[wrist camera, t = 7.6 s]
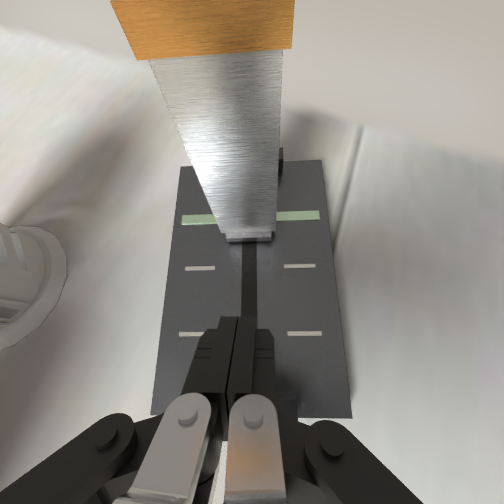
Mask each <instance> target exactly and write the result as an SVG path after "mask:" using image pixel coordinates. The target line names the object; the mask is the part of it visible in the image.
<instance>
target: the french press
mask: <svg viewBox="0 0 504 504" xmlns="http://www.w3.org/2000/svg"><path fill="white" fill-rule="evenodd" d="M66 278H67V264H66V252H65V251H64V249H63V247H62V245H61V244H60V242H59V240H58V239H57V237H56V236H55V235H53V234H51V233H49V232H47V231H46V230H44V229H42V228H40V227H31V226H15V227H12V228H8V227H7V226H6V225H4V224H1V223H0V350H1V349H5V348H8V347H11V346H14V345H15V344H16V343H18V342H19V341H20V340H22V339H23V338H24V337H26V336H27V335H29V334H30V333H31V332H33V331H34V330H35V329H37V328H38V327H39V326H40V325H41V324H42V322H43V321H44V320H45V318H46V317H47V316H48V314H49V313H50V312H51V310H52V309H53V308H54V306H55V305H56V304H57V302H58V300H59V297H60V295H61V292H62V289H63V286H64V283H65V280H66Z"/></svg>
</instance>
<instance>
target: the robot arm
mask: <svg viewBox="0 0 504 504" xmlns="http://www.w3.org/2000/svg"><path fill="white" fill-rule="evenodd" d="M222 441H228V447H227V463H226V479H225V495H224V503H223V504H423V503H422V502H421V501H420V500H419V499H418V498H417V497H416V496H415V495H414V494H413V493H412V492H411V491H410V490H409V489H408V488H407V487H406V486H405V485H404V484H403V483H402V482H401V481H400V480H399V479H398V478H397V477H396V476H395V475H394V474H393V473H392V472H391V471H390V470H389V469H387V468H386V467H385V466H384V465H383V464H382V463H381V462H380V461H379V460H378V459H377V458H376V457H375V456H374V455H373V454H372V453H371V452H370V451H369V450H368V449H367V448H366V447H365V446H364V445H363V444H362V443H361V442H360V441H359V440H358V439H357V438H356V437H355V436H354V435H353V434H352V433H351V432H350V431H349V430H347V429H346V428H345V427H344V426H342V425H341V424H339V423H337V422H334V421H329V420H322V421H318V422H315V423H314V424H312V425H311V426H309V425H306V424H304V423H301V422H298V421H296V420H294V419H292V418H290V417H289V416H287V415H286V414H285V413H284V412H283V411H282V409H281V408H280V406H279V404H278V402H277V398H276V379H275V351H274V337H273V335H272V334H271V332H270V330H269V329H257V318H256V316H239V318H238V316H221V317H220V320H219V324H218V328H217V329H207V330H206V331H205V332H204V333H203V335H202V336H201V337H200V339H199V342H198V345H197V348H196V351H195V354H194V358H193V359H192V362H191V365H190V368H189V371H188V374H187V377H186V380H185V383H184V386H183V389H182V392H181V394H180V396H179V397H178V398H176V399H175V400H174V401H173V402H172V403H171V404H170V405H169V406H168V408H167V409H166V411H165V412H164V413H162V414H160V415H158V416H155V417H152V418H149V419H146V420H142V421H139V422H136V423H133V420H132V419H131V417H130V416H128V415H126V414H123V413H115V414H111V415H108V416H106V417H104V418H102V419H100V420H99V421H97V422H96V423H95V424H93V425H92V426H90V427H89V428H88V429H86V430H85V431H84V432H82V433H81V434H79V435H78V436H77V437H75V438H74V439H73V440H71V441H70V442H68V443H67V444H66V445H64V446H63V447H62V448H60V449H59V450H57V451H56V452H55V453H53V454H52V455H51V456H49V457H48V458H46V459H45V460H44V461H42V462H41V463H40V464H38V465H37V466H35V467H34V468H33V469H31V470H30V471H29V472H27V473H26V474H24V475H23V476H22V477H20V478H19V479H18V480H16V481H15V482H13V483H12V484H11V485H9V486H8V487H7V488H5V489H4V490H2V491H1V492H0V504H212V501H213V496H214V492H215V487H216V482H217V477H218V472H219V460H220V453H221V447H222Z"/></svg>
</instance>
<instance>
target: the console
mask: <svg viewBox="0 0 504 504" xmlns="http://www.w3.org/2000/svg"><path fill="white" fill-rule="evenodd" d="M221 316H238V318H239V316H256V318H257V329H269V330H270V332H271V334H272V335H273V337H274V351H275V379H276V398H277V402H278V404H279V406H280V408H281V409H282V411H283V412H284V413H285V414H286V415H287V416H289V417H290V418H292V419H294V420H296V421H298V418H349V419H352V411H351V402H350V394H349V386H348V377H347V369H346V361H345V353H344V344H343V336H342V328H341V320H340V311H339V303H338V295H337V287H336V278H335V270H334V262H333V254H332V245H331V237H330V229H329V221H328V212H327V204H326V196H325V188H324V179H323V171H322V163H321V160H311V161H290V162H283V148H279V161H278V187H277V213H276V231H271V241H244V242H227V241H226V233H221V231H220V229H219V226H218V224H217V222H216V219H215V217H214V214H213V212H212V210H211V207H210V205H209V203H208V200H207V198H206V196H205V193H204V191H203V189H202V186H201V184H200V182H199V179H198V177H197V174H196V172H195V170H194V167H193V166H186V167H181V169H180V177H179V185H178V193H177V201H176V210H175V218H174V226H173V234H172V242H171V251H170V259H169V267H168V275H167V283H166V291H165V300H164V308H163V316H162V324H161V332H160V341H159V349H158V357H157V365H156V373H155V382H154V390H153V398H152V406H151V414H150V415H160V414H162V413H164V412H165V411H166V409H167V408H168V406H169V405H170V404H171V403H172V402H173V401H174V400H175V399H176V398H178V397H179V396H180V394H181V392H182V389H183V386H184V383H185V380H186V377H187V374H188V371H189V368H190V365H191V362H192V359H193V358H194V354H195V351H196V348H197V345H198V342H199V339H200V337H201V336H202V335H203V333H204V332H205V331H206V330H207V329H217V328H218V324H219V320H220V317H221Z"/></svg>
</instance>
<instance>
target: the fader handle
mask: <svg viewBox="0 0 504 504" xmlns="http://www.w3.org/2000/svg"><path fill="white" fill-rule="evenodd" d="M110 3H111V5H112V7H113V9H114V11H115V14H116V16H117V18H118V20H119V22H120V24H121V27H122V29H123V31H124V33H125V35H126V37H127V40H128V42H129V44H130V46H131V48H132V50H133V52H134V55H135V57H136V59H137V60H148V61H149V64H150V66H151V68H152V71H153V73H154V76H155V78H156V80H157V83H158V85H159V87H160V90H161V92H162V94H163V97H164V99H165V101H166V104H167V106H168V108H169V111H170V113H171V116H172V118H173V120H174V123H175V125H176V127H177V130H178V132H179V134H180V137H181V139H182V141H183V144H184V146H185V149H186V151H187V153H188V156H189V158H190V160H191V163H192V165H193V167H194V170H195V172H196V174H197V177H198V179H199V182H200V184H201V186H202V189H203V191H204V193H205V196H206V198H207V200H208V203H209V205H210V207H211V210H212V212H213V214H214V217H215V219H216V222H217V224H218V226H219V229H220V231H221V233H226V241H227V242H244V241H271V231H276V213H277V187H278V161H279V136H280V110H281V83H282V57H283V49H291V47H292V32H293V18H294V3H295V0H111V1H110Z"/></svg>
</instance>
